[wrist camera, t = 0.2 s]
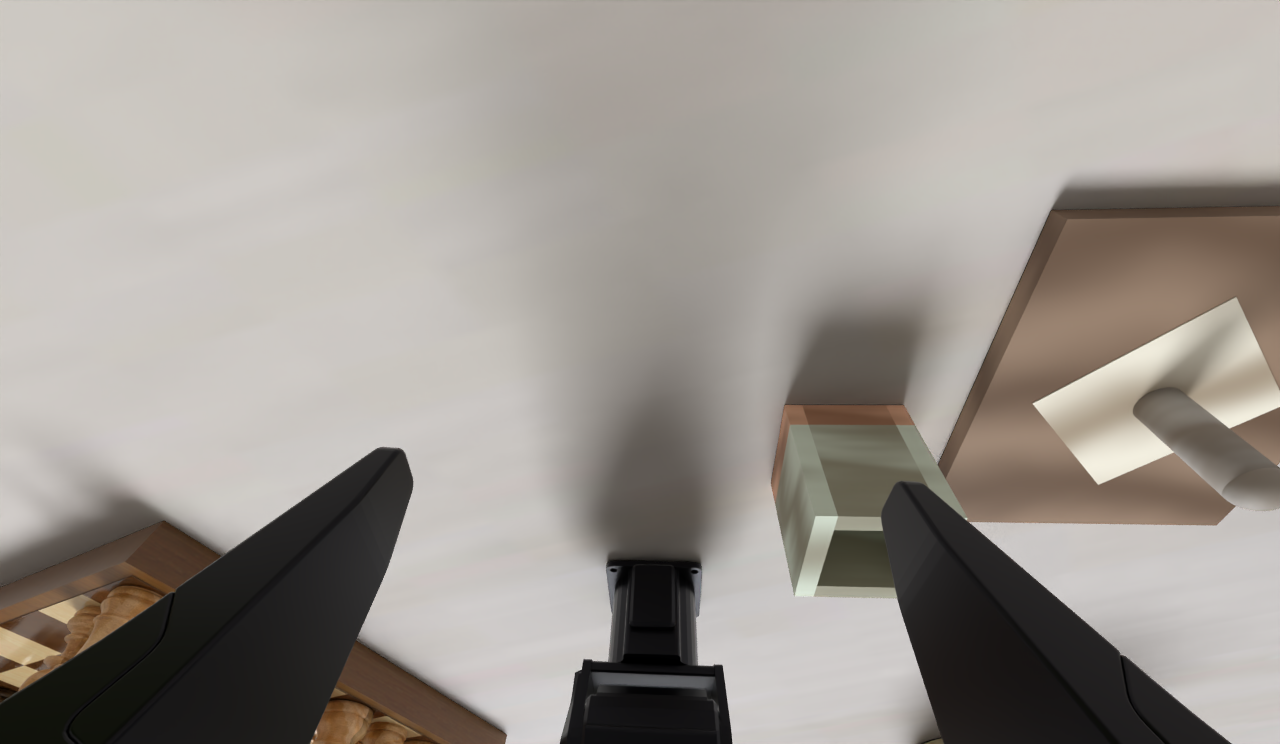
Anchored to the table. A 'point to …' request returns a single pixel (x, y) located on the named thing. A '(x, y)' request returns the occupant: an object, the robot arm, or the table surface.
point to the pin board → (1131, 374)
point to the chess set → (156, 565)
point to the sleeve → (845, 493)
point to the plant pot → (935, 741)
